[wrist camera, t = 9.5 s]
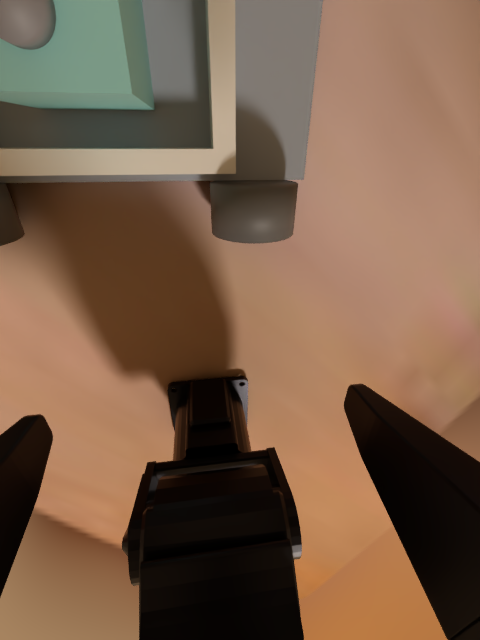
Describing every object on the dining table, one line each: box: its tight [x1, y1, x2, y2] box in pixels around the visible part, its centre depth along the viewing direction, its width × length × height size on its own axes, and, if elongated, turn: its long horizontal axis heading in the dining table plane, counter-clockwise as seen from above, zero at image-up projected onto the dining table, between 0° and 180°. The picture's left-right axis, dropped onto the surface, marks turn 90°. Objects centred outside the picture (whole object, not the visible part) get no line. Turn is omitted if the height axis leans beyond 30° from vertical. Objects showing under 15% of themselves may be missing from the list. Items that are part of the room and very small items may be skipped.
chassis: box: [0, 0, 323, 246], centre depth 11 cm, size 17×20×4 cm
